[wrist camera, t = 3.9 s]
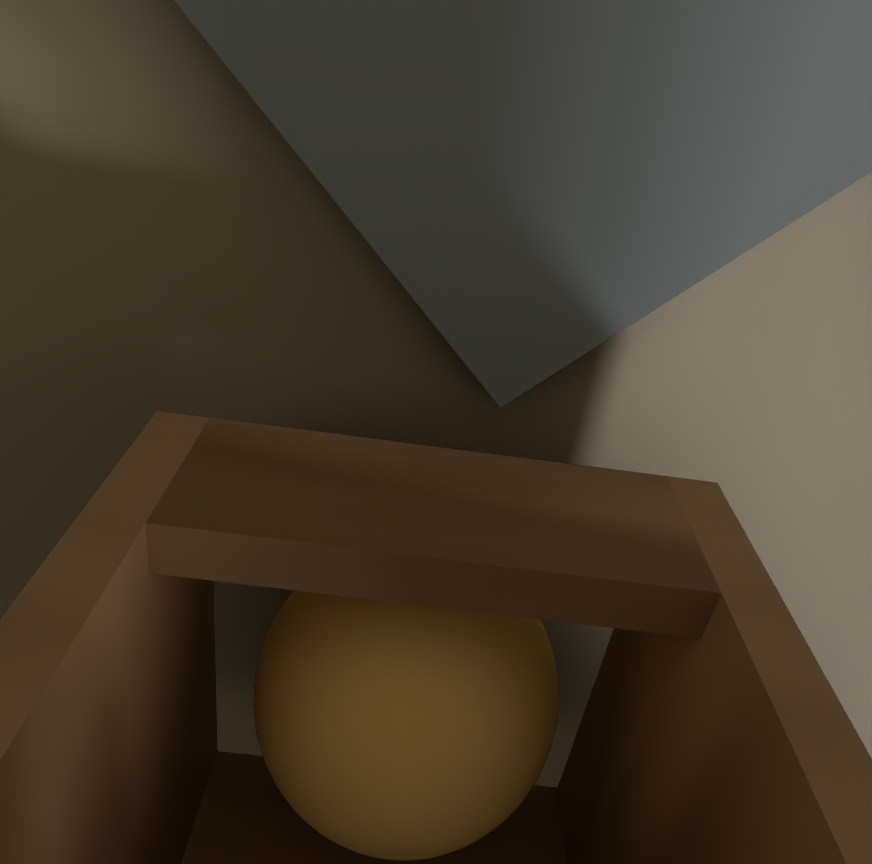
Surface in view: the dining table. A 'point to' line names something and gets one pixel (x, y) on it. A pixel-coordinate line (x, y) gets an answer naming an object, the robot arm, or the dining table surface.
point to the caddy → (430, 586)
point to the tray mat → (557, 146)
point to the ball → (403, 720)
